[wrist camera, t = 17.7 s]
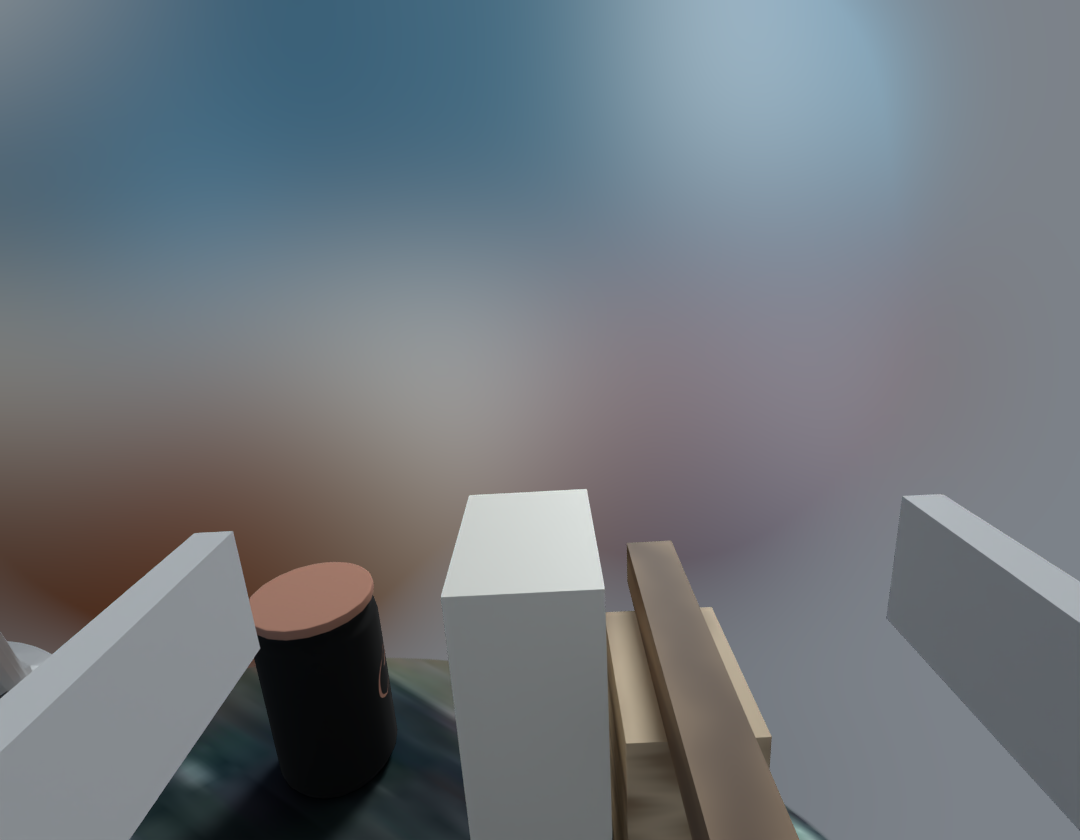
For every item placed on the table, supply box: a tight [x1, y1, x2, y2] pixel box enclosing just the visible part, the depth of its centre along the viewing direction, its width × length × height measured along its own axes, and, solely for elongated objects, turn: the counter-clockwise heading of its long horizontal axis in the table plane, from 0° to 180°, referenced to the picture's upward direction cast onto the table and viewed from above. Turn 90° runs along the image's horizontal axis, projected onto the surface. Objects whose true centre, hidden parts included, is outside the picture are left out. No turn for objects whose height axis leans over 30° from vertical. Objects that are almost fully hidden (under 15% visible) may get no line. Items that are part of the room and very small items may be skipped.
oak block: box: [606, 607, 772, 840], centre depth 41 cm, size 8×12×20 cm, turn 0°
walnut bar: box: [627, 541, 799, 840], centre depth 35 cm, size 4×26×4 cm, turn 0°
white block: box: [441, 489, 612, 840], centre depth 39 cm, size 8×12×30 cm, turn 0°
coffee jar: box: [249, 562, 397, 799], centre depth 55 cm, size 11×11×18 cm
